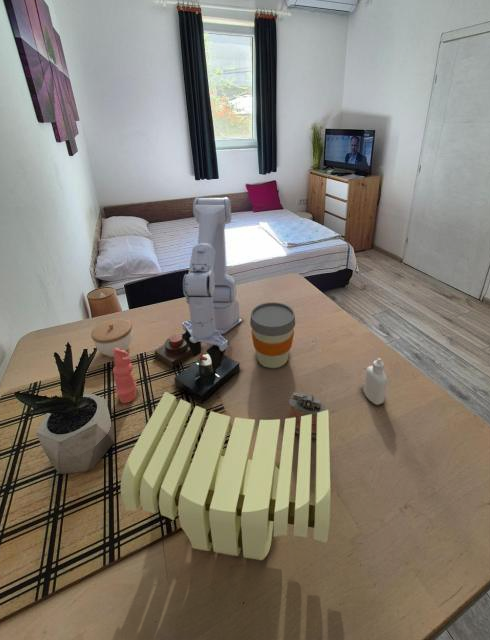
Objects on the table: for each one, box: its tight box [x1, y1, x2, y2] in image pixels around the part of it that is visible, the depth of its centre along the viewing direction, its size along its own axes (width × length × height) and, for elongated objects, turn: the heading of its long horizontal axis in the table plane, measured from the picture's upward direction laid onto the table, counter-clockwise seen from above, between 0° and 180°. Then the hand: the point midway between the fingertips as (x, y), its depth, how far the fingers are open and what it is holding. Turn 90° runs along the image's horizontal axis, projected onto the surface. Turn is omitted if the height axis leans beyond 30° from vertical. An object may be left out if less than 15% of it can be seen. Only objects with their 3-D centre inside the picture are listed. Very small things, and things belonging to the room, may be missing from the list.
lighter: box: [288, 392, 327, 439], centre depth 71 cm, size 8×3×10 cm, turn 71°
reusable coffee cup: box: [249, 301, 296, 369], centre depth 92 cm, size 13×13×15 cm
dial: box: [197, 353, 216, 376], centre depth 85 cm, size 4×4×4 cm
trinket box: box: [90, 318, 134, 358], centre depth 96 cm, size 11×11×9 cm
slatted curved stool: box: [120, 391, 331, 561], centre depth 55 cm, size 30×16×18 cm, turn 82°
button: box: [169, 333, 183, 347], centre depth 95 cm, size 4×4×2 cm
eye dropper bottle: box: [362, 357, 388, 406], centre depth 79 cm, size 4×6×12 cm
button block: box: [154, 333, 193, 369], centre depth 96 cm, size 10×8×4 cm
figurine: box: [112, 348, 138, 404], centre depth 79 cm, size 5×5×15 cm
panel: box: [173, 352, 241, 406], centre depth 86 cm, size 14×10×3 cm
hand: (206, 360), depth 85 cm, fingers open, 7 cm apart
